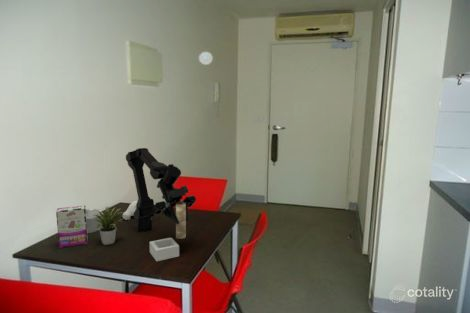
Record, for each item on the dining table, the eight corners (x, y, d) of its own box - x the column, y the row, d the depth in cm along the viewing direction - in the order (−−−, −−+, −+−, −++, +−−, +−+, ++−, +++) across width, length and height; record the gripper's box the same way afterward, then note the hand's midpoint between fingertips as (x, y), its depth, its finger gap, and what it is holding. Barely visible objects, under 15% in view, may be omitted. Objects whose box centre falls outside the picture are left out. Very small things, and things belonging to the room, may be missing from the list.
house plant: (108, 252, 131) (106, 214, 129) (82, 247, 136) (80, 210, 133) (131, 239, 144) (130, 205, 142) (106, 235, 149) (105, 201, 147)
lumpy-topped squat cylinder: (89, 233, 150) (88, 216, 149) (71, 228, 156) (70, 211, 155) (107, 226, 159) (106, 210, 158) (89, 222, 165) (88, 206, 164)
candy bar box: (87, 240, 143) (86, 204, 141) (87, 244, 139) (85, 208, 136) (59, 243, 139) (57, 207, 136) (58, 248, 134) (55, 211, 132)
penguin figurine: (143, 200, 175) (126, 208, 165) (144, 214, 177) (128, 223, 167) (135, 198, 178) (118, 206, 168) (136, 212, 180) (119, 221, 170)
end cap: (149, 252, 132) (149, 241, 132) (171, 247, 137) (171, 237, 136) (156, 261, 124) (156, 250, 124) (179, 256, 129) (179, 245, 128)
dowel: (176, 239, 129) (175, 205, 127) (175, 235, 133) (175, 202, 131) (186, 238, 130) (186, 205, 128) (185, 234, 134) (185, 202, 132)
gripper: (154, 183, 125) (169, 217, 118) (194, 177, 137) (209, 208, 131) (145, 198, 132) (159, 231, 125) (184, 191, 144) (198, 221, 138)
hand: (182, 222), depth 130 cm, fingers closed on dowel, 4 cm apart
